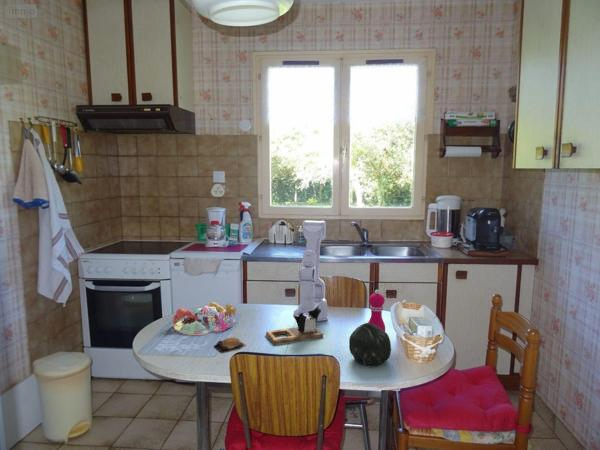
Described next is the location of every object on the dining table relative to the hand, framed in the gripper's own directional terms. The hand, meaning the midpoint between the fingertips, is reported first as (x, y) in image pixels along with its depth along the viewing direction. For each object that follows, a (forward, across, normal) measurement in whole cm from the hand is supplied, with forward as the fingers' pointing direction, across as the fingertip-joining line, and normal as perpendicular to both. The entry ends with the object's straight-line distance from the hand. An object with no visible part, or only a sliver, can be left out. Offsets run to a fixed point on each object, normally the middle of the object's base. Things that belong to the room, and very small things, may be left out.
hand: (307, 328), depth 174 cm
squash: (+3, +5, +32) cm, 32 cm away
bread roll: (+3, +28, -15) cm, 32 cm away
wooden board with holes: (+2, +5, -3) cm, 6 cm away
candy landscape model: (+3, +19, -40) cm, 45 cm away
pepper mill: (+3, -14, +24) cm, 27 cm away
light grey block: (+2, 0, 0) cm, 2 cm away
